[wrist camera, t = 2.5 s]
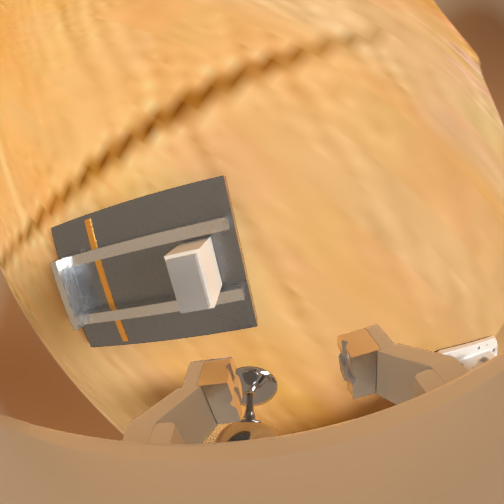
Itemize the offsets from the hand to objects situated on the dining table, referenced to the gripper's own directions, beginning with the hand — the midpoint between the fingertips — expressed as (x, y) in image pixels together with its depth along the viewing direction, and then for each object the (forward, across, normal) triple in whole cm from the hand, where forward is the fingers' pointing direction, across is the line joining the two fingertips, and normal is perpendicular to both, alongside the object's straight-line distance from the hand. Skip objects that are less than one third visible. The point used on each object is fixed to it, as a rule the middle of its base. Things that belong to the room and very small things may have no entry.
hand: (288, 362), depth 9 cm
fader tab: (+19, -6, 0) cm, 20 cm away
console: (+21, -14, 0) cm, 25 cm away
